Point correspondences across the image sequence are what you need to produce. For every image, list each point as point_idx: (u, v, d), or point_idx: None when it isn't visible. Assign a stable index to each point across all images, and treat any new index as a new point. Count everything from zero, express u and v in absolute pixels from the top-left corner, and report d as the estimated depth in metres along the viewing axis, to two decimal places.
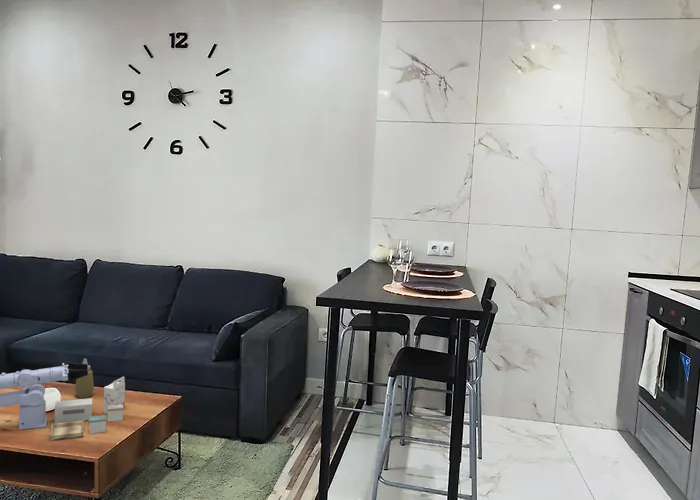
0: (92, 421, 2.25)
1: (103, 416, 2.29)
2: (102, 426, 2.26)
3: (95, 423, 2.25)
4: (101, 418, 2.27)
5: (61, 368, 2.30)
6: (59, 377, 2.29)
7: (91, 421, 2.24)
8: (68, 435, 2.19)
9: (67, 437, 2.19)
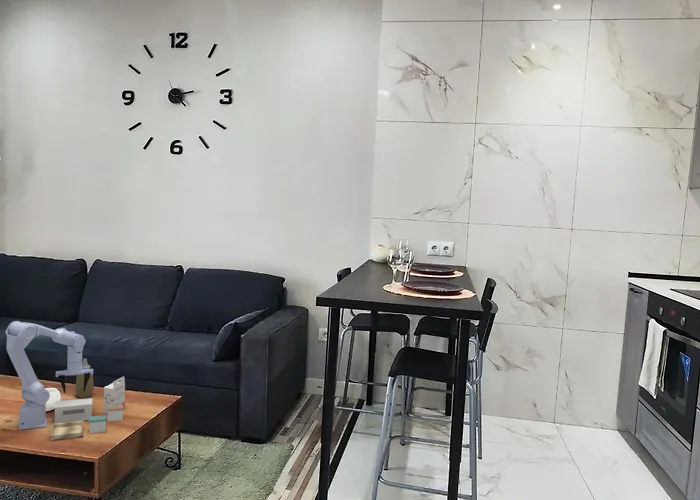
0: (92, 421, 2.25)
1: (103, 416, 2.29)
2: (102, 426, 2.26)
3: (95, 423, 2.25)
4: (101, 418, 2.27)
5: None
6: (81, 367, 2.44)
7: (91, 421, 2.24)
8: (68, 435, 2.19)
9: (67, 437, 2.19)
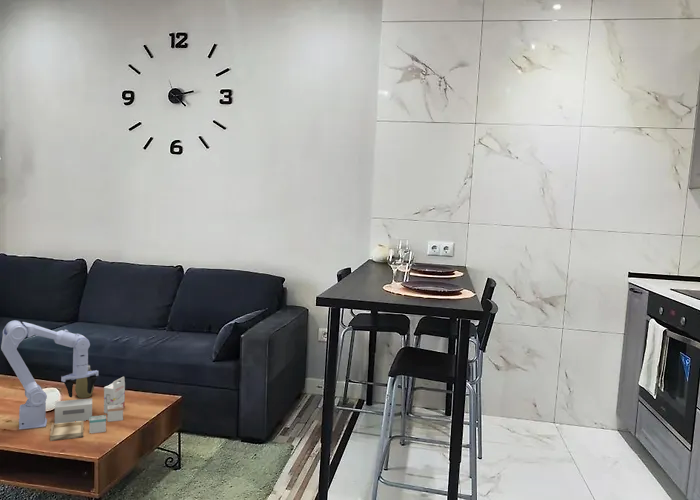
0: (92, 421, 2.25)
1: (103, 416, 2.29)
2: (102, 426, 2.26)
3: (95, 423, 2.25)
4: (101, 418, 2.27)
5: None
6: (87, 370, 2.40)
7: (91, 421, 2.24)
8: (68, 435, 2.19)
9: (67, 437, 2.19)
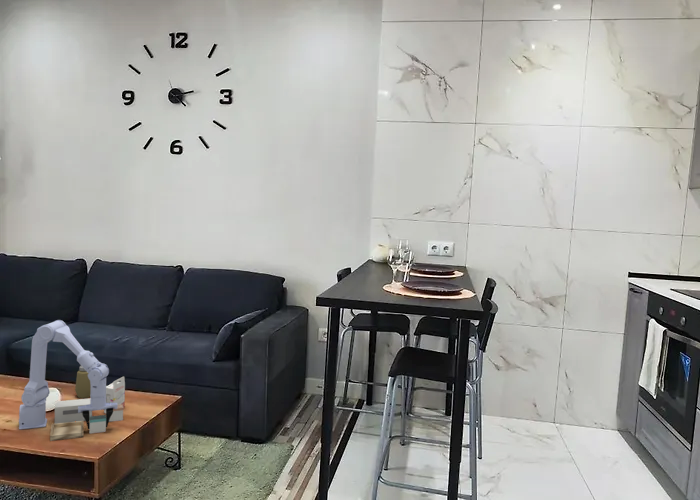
0: (92, 421, 2.25)
1: (103, 416, 2.29)
2: (102, 426, 2.26)
3: (95, 423, 2.25)
4: (101, 418, 2.27)
5: None
6: (105, 402, 2.27)
7: (91, 421, 2.24)
8: (68, 435, 2.19)
9: (67, 437, 2.19)
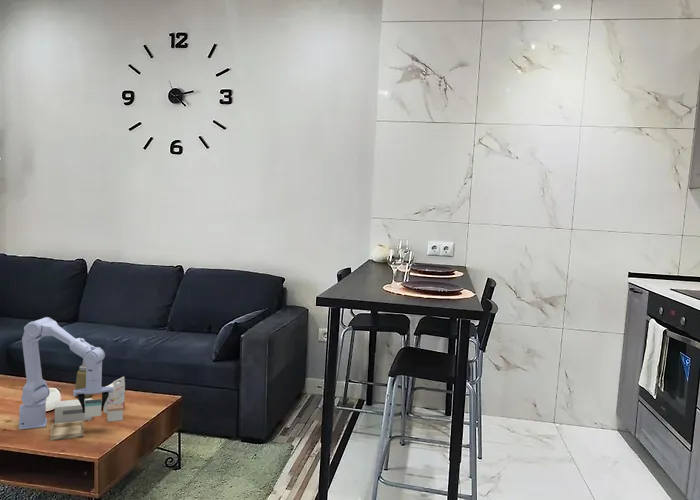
0: (87, 405, 2.23)
1: (99, 400, 2.27)
2: (97, 410, 2.25)
3: (91, 407, 2.24)
4: (96, 402, 2.26)
5: None
6: None
7: (86, 405, 2.23)
8: (68, 435, 2.19)
9: (67, 437, 2.19)
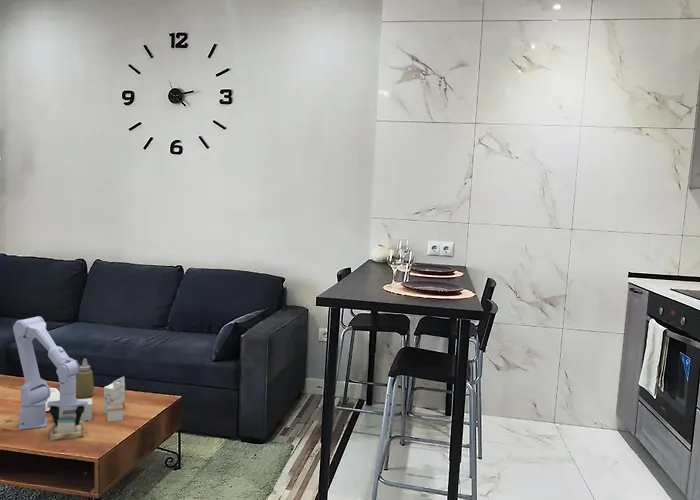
0: (60, 421, 2.21)
1: (74, 417, 2.24)
2: (70, 427, 2.22)
3: (64, 424, 2.21)
4: (70, 419, 2.23)
5: None
6: (74, 399, 2.22)
7: (59, 421, 2.21)
8: (68, 435, 2.19)
9: (67, 437, 2.19)
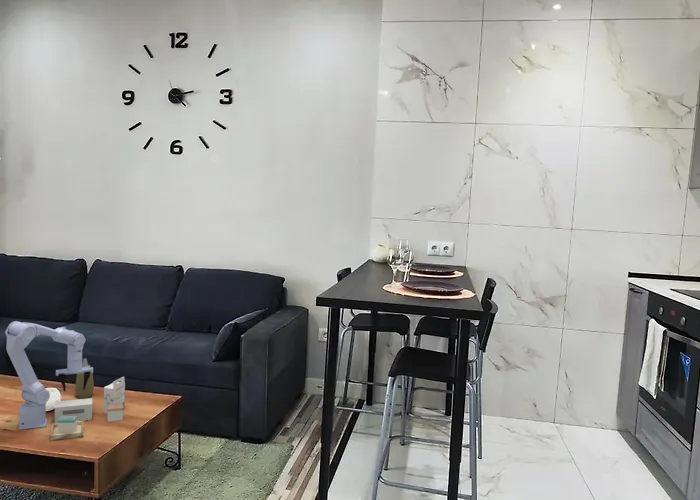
0: (60, 421, 2.21)
1: (74, 417, 2.24)
2: (70, 427, 2.22)
3: (64, 424, 2.21)
4: (70, 419, 2.23)
5: None
6: (81, 366, 2.44)
7: (59, 421, 2.21)
8: (68, 435, 2.19)
9: (67, 437, 2.19)
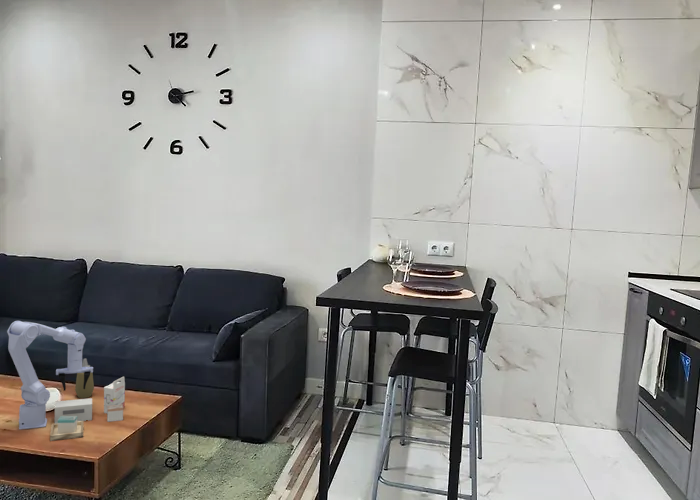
0: (60, 421, 2.21)
1: (74, 417, 2.24)
2: (70, 427, 2.22)
3: (64, 424, 2.21)
4: (70, 419, 2.23)
5: None
6: (81, 365, 2.45)
7: (59, 421, 2.21)
8: (68, 435, 2.19)
9: (67, 437, 2.19)
